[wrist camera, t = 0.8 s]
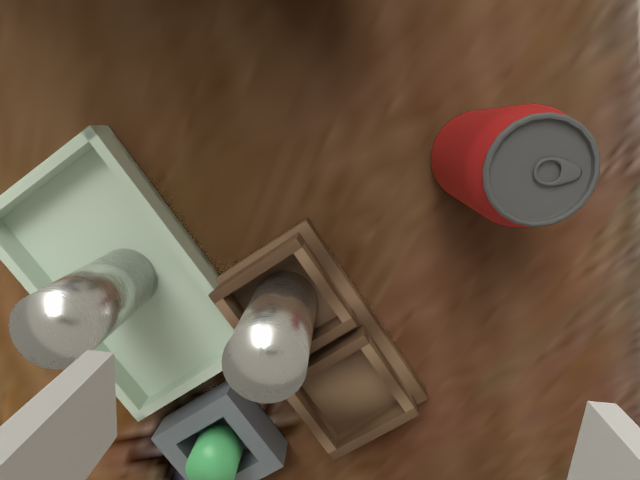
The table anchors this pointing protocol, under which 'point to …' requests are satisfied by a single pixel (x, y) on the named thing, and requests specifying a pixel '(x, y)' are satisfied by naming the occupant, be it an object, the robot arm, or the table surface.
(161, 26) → the table surface
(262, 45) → the table surface
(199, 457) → the button
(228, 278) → the tray
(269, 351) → the cylinder
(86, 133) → the tray
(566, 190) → the beer can
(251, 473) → the grey square button housing
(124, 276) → the cylinder
